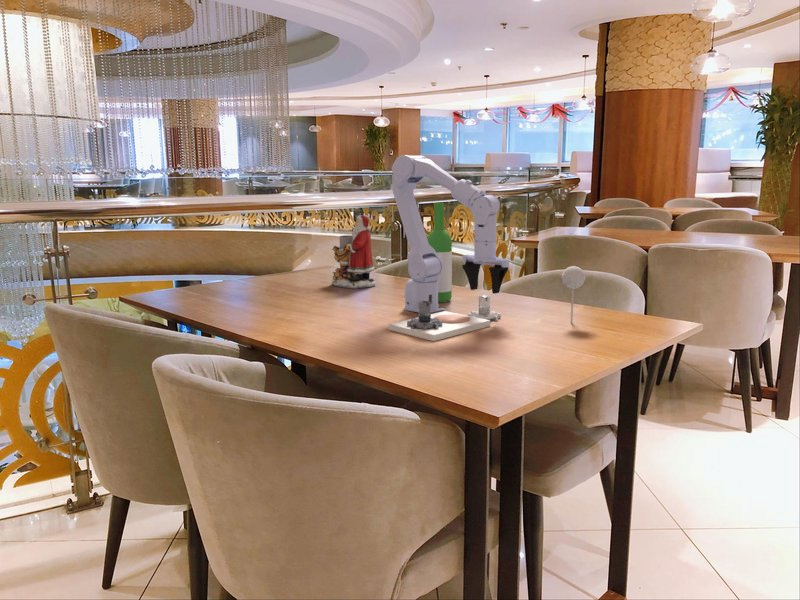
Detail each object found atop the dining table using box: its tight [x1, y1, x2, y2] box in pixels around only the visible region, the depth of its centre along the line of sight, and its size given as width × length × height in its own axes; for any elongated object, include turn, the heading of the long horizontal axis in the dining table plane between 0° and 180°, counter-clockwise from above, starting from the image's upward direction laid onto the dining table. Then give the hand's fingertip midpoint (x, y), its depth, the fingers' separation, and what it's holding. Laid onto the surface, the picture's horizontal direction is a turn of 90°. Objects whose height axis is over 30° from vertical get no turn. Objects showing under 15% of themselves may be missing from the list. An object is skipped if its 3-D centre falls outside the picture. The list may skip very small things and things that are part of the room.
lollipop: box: [560, 265, 587, 324], centre depth 169 cm, size 6×6×15 cm
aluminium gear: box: [467, 294, 502, 322], centre depth 176 cm, size 9×9×6 cm
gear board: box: [388, 310, 491, 342], centre depth 166 cm, size 16×21×2 cm
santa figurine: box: [331, 214, 377, 290], centre depth 226 cm, size 17×14×25 cm
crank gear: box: [407, 294, 442, 330], centre depth 162 cm, size 9×9×8 cm
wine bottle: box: [426, 202, 453, 304], centre depth 197 cm, size 8×8×30 cm
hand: (484, 291), depth 175 cm, fingers open, 7 cm apart
